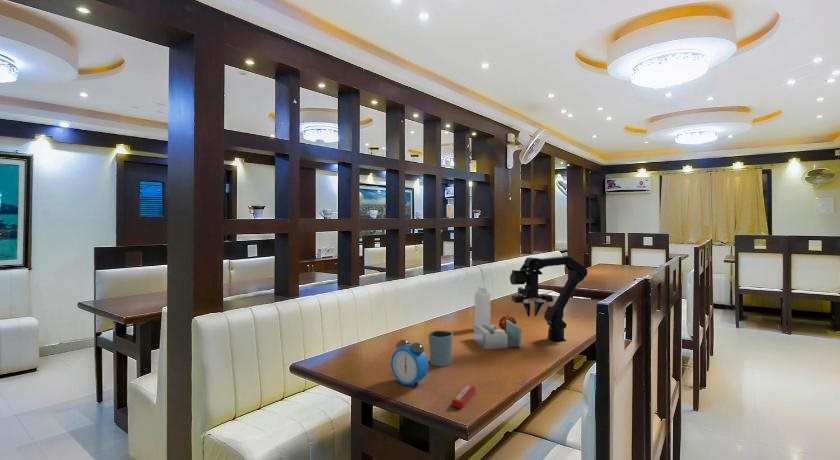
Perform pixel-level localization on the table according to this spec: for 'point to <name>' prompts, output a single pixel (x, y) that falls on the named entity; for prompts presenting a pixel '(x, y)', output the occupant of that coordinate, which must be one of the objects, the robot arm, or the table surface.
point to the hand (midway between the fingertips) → (532, 316)
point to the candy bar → (463, 396)
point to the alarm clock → (409, 363)
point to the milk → (482, 307)
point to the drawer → (512, 334)
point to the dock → (489, 337)
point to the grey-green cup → (440, 347)
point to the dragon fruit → (503, 322)
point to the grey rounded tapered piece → (499, 331)
